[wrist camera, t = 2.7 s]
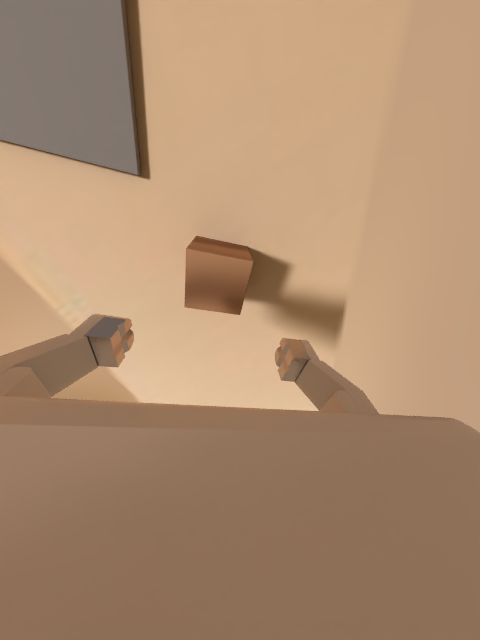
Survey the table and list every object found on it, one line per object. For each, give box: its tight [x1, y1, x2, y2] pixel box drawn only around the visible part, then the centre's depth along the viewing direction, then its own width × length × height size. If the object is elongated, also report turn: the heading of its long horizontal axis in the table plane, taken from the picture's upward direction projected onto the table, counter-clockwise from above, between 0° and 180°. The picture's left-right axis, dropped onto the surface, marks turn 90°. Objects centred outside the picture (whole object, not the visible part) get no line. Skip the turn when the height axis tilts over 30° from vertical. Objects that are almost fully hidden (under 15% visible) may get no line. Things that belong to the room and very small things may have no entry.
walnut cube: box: [185, 236, 253, 315], centre depth 16 cm, size 5×5×5 cm
